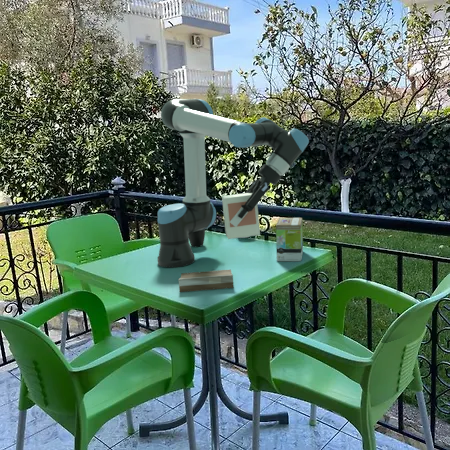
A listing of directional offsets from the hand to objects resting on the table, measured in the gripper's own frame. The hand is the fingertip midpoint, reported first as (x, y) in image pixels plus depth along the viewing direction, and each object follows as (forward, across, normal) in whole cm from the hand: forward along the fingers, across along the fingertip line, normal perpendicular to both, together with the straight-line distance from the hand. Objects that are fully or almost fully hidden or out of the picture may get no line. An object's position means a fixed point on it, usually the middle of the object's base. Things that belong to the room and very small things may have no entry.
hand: (231, 222), depth 153 cm
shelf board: (+22, 0, -7) cm, 23 cm away
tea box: (-3, +21, -33) cm, 39 cm away
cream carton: (+1, 0, -6) cm, 6 cm away
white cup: (+5, +63, -25) cm, 68 cm away
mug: (+21, +55, -8) cm, 60 cm away
